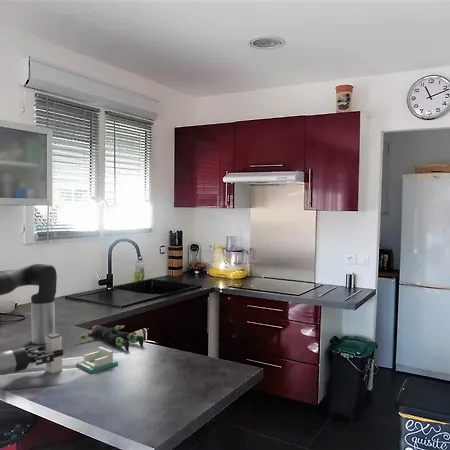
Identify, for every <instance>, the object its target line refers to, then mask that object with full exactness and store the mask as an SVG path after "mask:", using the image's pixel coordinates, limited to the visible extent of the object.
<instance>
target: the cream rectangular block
mask: <svg viewBox="0 0 450 450" xmlns="http://www.w3.org/2000/svg"><path fill="white" fill-rule="evenodd" d="M45 345H46V352H52V351H56V350H60V349H62V350H63V337H62V336H61V334H59V333H57V332H55V333H54V334H49V335H47V337H46V344H45ZM46 355H47V354H46ZM47 358H49V357H47ZM45 370H46V372H48V373H50V374H54V373H55V374H56V373H58V372H62V371H63V356H60V357H56V358H54V361H53V362H49V363H45Z"/></svg>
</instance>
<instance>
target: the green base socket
mask: <svg viewBox="0 0 450 450" xmlns="http://www.w3.org/2000/svg"><path fill="white" fill-rule="evenodd" d="M97 349H98V350H97V351H94V352H91V353H86V354H84V355H83V359H82V360H80V361H79V362H76V364H75V365H76V367H77V366H78V367H77V368H79V367H80V368H79V369H81V368H82V369H81V370H83V369H84V371H85V372H88V373H90V374H93V373H96V372H99V371H103V370H107V369H109V367H110V368H112V367H116V366H119V361H118V360H115V359H114V351H113V350H111V349H107V348H105V347H103V346H98V347H97Z"/></svg>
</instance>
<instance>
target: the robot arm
mask: <svg viewBox="0 0 450 450" xmlns="http://www.w3.org/2000/svg"><path fill="white" fill-rule="evenodd" d="M57 280H58V278H57V271H56V268H55V266H53V265H52V264H45V263H35V264H31V265H28V266H24V267H20V268H17V269H8V270H1V271H0V296H3V295H7V294H10V293H11V292H14V290H16V289H17V288H19V287H24V286H38V291H37V293H35V294H32V295H31V297H30V303H31V304H30V306H31V308H30V309H31V310H30V312H31V320H30V321H31V322H30V323H31V343H32V344H33V345H29V346H25V347H23V346H19V347H16V348H10V349H8V350H5V351H4V350H3V351H0V376H6V375H10V374H13V373H17V372H21V371H25V370H26V369H27V368H28V367H29V365H30V364H35V366H39V365H44V364H45V365H46V363H49V362H53V361H54V358H56V357H60V356H62V357H63V356H64V350H63V348H62V349H60V350H56V351H52V352H46V337H47V335H49V334H54V333H56V332H55V331H56V326H55V325H56V322H55V319H56V317H55V316H56V315H55V314H56V313H55V311H56V310H55V308H56V307H55V298H56V293H57ZM46 354H47V355H46ZM47 357H49V358H47Z"/></svg>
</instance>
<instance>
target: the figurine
mask: <svg viewBox="0 0 450 450" xmlns="http://www.w3.org/2000/svg"><path fill="white" fill-rule="evenodd" d="M125 327H126V326H125V325H116V326H115V327H106V326H102V325H94V326H92V327H91V332H90V333H89V332H88V333H87V334H86V333H83V334H81V335H79V336H78V337H75V341H79V340H86V339H87V338H91V337H94V336H95V337H96V338H98V339H99V340H105V341H107V342H109V343H111V344H113V345H114V346H117V347H118V348H123V347H124V349H125V352H129V351H130V343H131V344H136V343H137V342H138V343H139V346H140V348H143V347H144V341H145V340H144V339H145V338H144V336H142V335H137V334H133V333H129V332H128V331H120V330H121V329H123V328H125ZM97 336H98V337H97Z"/></svg>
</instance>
